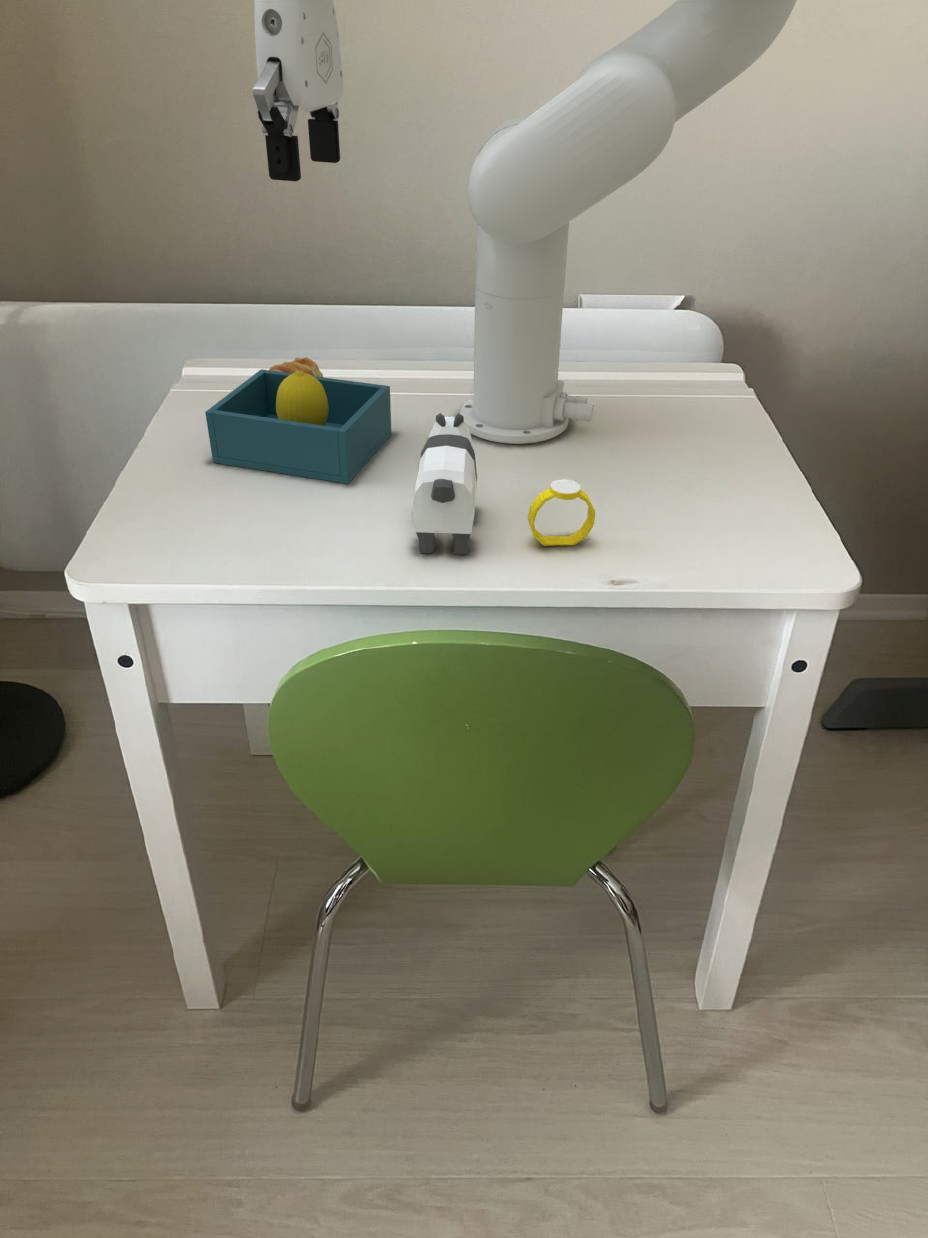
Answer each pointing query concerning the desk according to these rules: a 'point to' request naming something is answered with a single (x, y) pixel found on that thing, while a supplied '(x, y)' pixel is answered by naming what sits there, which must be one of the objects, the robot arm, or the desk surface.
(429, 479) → the giant panda
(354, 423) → the teal open bin
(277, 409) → the lemon
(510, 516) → the desk surface
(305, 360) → the pastry
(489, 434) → the robot arm
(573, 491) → the watch
